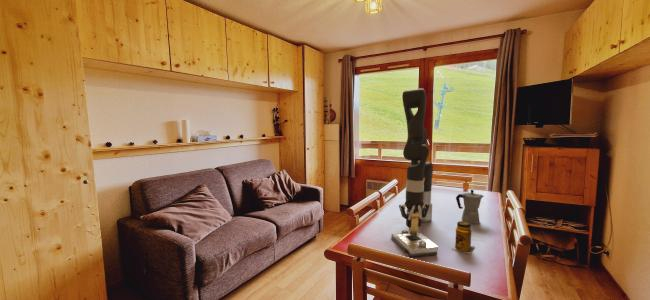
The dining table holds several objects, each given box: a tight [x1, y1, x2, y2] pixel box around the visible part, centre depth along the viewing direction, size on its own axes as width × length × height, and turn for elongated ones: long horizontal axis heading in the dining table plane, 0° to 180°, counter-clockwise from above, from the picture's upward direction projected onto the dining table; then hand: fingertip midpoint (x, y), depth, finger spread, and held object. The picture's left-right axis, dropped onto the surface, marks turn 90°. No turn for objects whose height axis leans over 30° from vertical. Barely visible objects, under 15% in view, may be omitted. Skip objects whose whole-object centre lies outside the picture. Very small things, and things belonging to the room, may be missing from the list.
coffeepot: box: [455, 189, 484, 225], centre depth 152 cm, size 15×9×18 cm, turn 92°
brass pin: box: [408, 212, 420, 235], centre depth 122 cm, size 5×5×10 cm
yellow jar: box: [452, 220, 475, 255], centre depth 120 cm, size 7×8×12 cm
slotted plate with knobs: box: [391, 229, 439, 258], centre depth 123 cm, size 12×20×6 cm, turn 10°
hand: (413, 226), depth 122 cm, fingers closed on brass pin, 4 cm apart
